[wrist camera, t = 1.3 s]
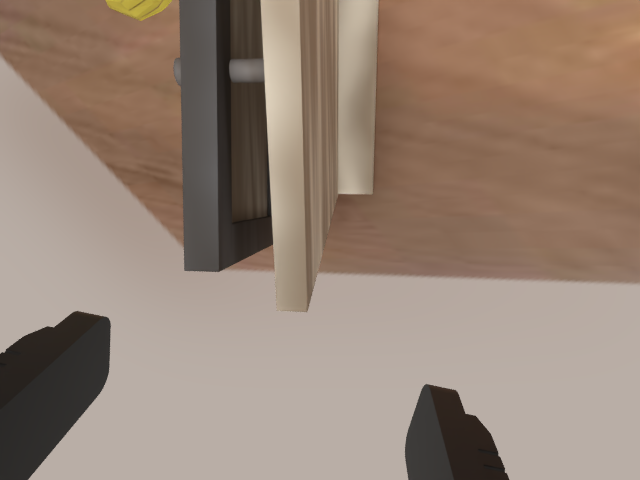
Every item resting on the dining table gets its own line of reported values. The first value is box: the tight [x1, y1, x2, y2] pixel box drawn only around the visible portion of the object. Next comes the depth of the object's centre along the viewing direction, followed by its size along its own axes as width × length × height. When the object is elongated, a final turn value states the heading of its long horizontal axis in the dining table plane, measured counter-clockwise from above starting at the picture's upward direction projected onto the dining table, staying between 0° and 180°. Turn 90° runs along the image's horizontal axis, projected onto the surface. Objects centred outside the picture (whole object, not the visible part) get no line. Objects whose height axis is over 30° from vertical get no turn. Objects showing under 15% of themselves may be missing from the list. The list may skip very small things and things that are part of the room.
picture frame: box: [174, 0, 273, 272], centre depth 25 cm, size 2×18×14 cm, turn 1°
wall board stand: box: [229, 0, 379, 312], centre depth 30 cm, size 12×22×26 cm, turn 1°
